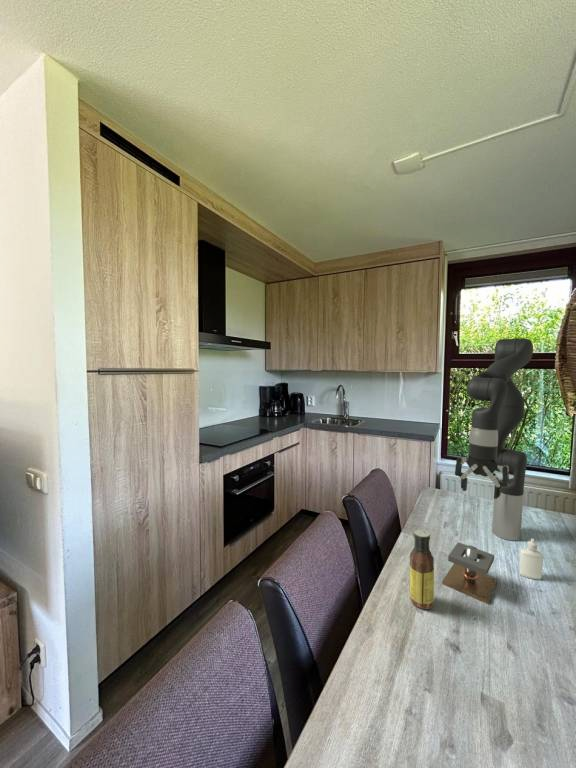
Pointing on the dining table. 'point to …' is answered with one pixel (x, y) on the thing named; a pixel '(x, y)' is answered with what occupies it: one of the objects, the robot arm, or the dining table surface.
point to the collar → (479, 566)
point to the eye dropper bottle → (531, 561)
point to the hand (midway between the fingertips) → (479, 494)
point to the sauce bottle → (421, 571)
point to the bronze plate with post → (470, 579)
